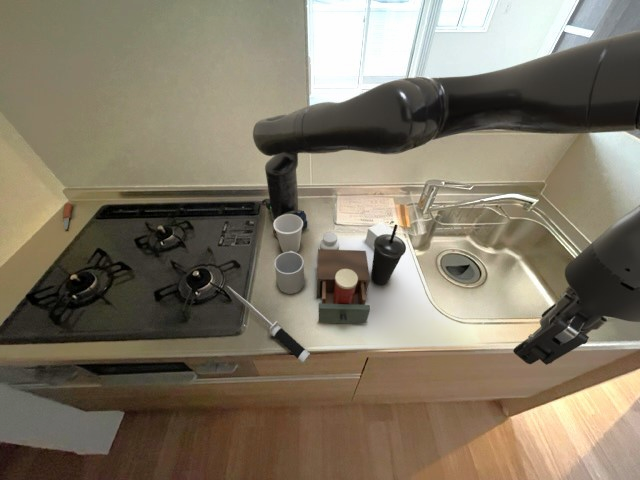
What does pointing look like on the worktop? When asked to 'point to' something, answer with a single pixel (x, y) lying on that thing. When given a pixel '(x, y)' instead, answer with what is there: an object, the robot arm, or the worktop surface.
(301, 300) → the worktop surface
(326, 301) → the drawer
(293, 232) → the dixie cup
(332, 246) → the supplement bottle
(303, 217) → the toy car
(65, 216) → the kitchen knife
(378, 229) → the white cube
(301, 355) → the knife
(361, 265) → the cabinet
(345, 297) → the tin
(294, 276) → the cup
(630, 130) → the robot arm
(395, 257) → the drinking cup
